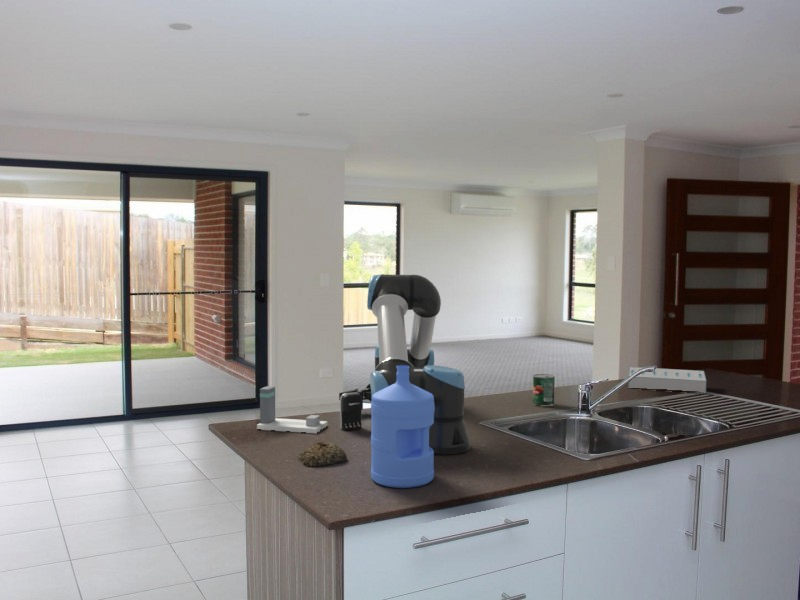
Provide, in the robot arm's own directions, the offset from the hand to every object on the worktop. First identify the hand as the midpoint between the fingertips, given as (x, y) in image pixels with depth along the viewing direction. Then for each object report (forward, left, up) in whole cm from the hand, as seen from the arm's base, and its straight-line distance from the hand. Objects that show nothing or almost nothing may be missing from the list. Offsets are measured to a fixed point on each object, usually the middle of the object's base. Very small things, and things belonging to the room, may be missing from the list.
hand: (360, 402), depth 229 cm
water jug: (-54, -27, -7) cm, 60 cm away
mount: (-13, +19, -6) cm, 24 cm away
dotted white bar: (+91, -107, -7) cm, 141 cm away
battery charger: (-10, 0, -7) cm, 12 cm away
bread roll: (-43, -2, -7) cm, 44 cm away
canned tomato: (+43, -58, -7) cm, 73 cm away
